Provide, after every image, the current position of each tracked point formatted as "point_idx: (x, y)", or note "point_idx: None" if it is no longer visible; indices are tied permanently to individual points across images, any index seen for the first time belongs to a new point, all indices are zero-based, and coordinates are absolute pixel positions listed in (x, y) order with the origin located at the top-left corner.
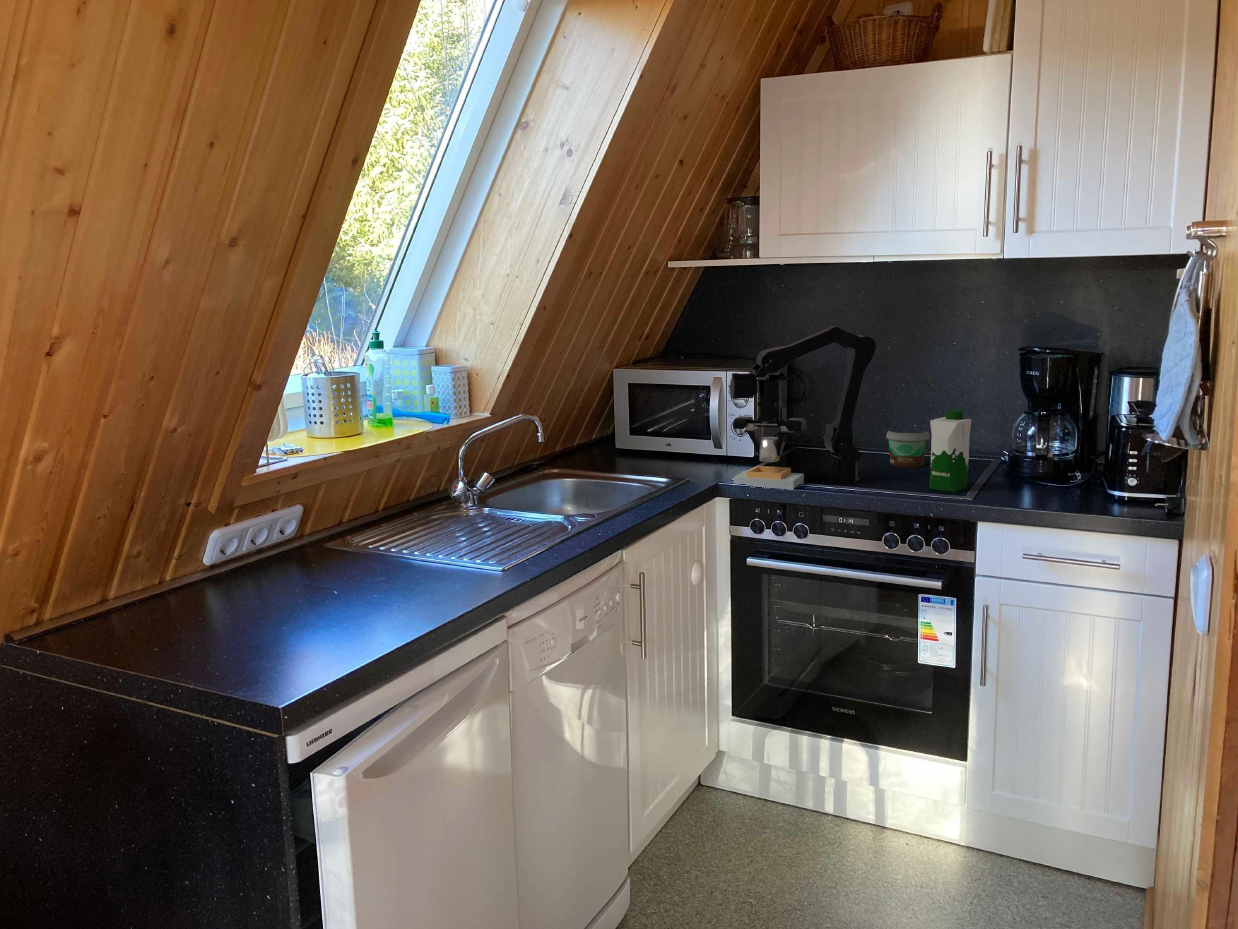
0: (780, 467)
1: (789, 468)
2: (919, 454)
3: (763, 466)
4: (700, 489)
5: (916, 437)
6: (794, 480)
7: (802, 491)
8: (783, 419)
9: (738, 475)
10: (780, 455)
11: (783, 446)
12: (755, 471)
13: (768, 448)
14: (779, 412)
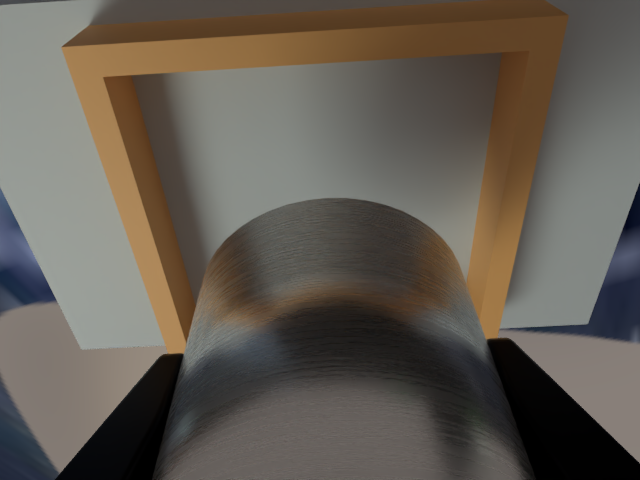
0: (417, 51)
1: (553, 75)
2: None
3: (165, 63)
4: (3, 417)
5: None
6: (594, 294)
7: (625, 282)
8: None
9: (76, 297)
10: (508, 346)
11: (624, 467)
12: (152, 184)
13: None
14: None
